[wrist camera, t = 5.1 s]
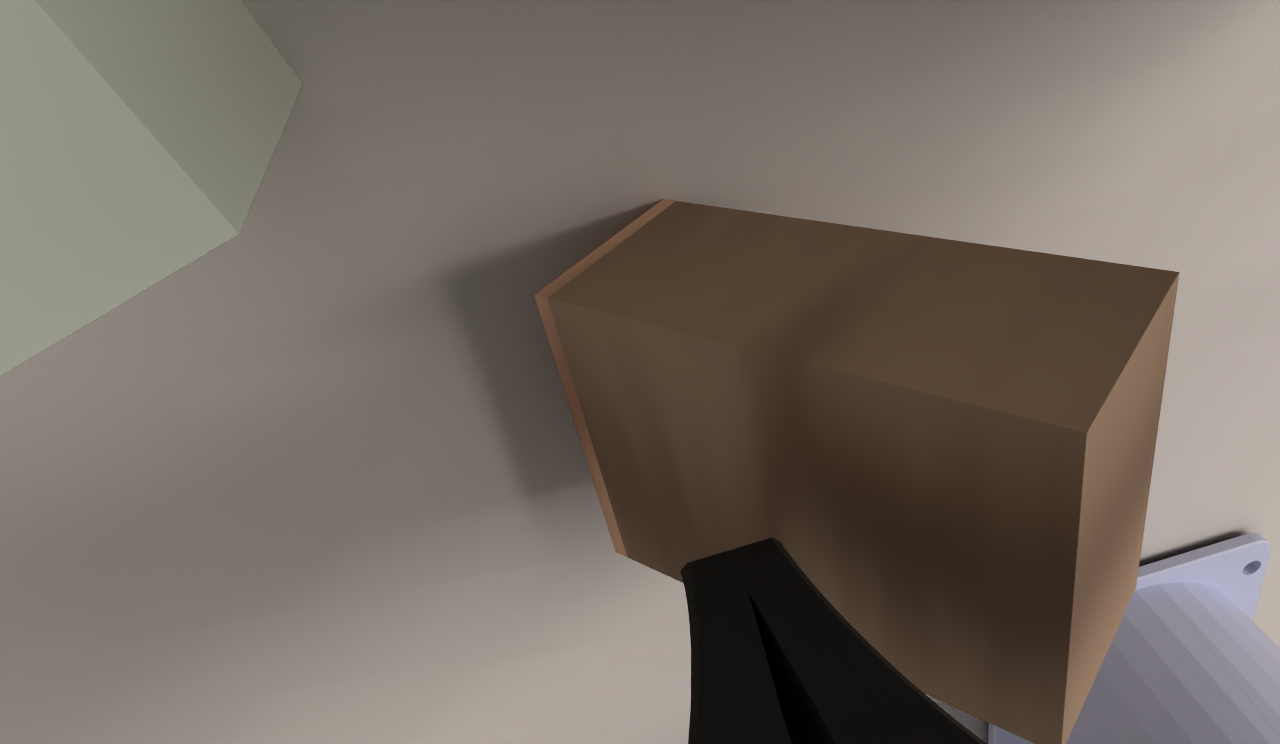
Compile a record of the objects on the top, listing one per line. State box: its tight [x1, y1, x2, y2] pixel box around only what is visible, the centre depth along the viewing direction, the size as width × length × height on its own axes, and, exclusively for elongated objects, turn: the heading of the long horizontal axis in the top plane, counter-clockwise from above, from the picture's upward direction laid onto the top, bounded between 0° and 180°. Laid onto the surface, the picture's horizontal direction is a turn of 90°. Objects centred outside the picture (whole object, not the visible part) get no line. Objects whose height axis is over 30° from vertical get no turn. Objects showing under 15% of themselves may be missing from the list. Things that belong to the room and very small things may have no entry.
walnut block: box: [534, 199, 1179, 744], centre depth 15 cm, size 6×4×8 cm
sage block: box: [0, 0, 303, 376], centre depth 11 cm, size 4×4×6 cm
